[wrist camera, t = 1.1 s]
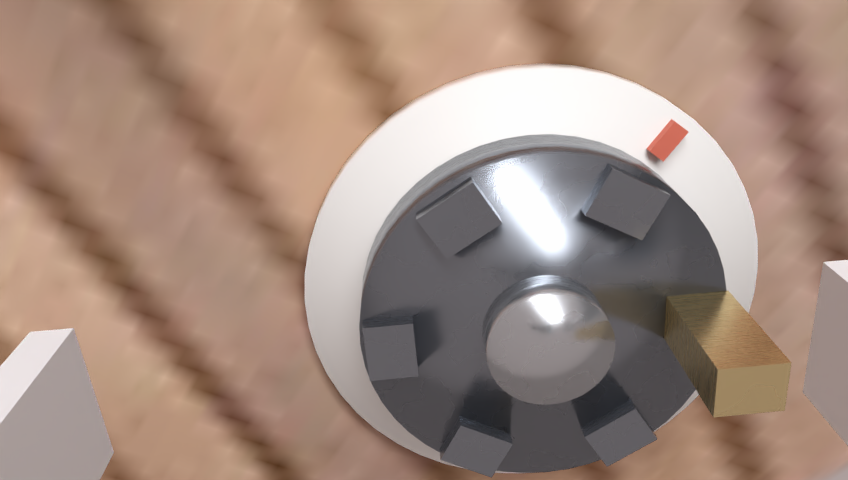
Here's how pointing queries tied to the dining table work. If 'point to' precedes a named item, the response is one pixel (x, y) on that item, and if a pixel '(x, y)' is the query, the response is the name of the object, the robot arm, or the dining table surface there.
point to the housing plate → (484, 123)
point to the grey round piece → (553, 310)
